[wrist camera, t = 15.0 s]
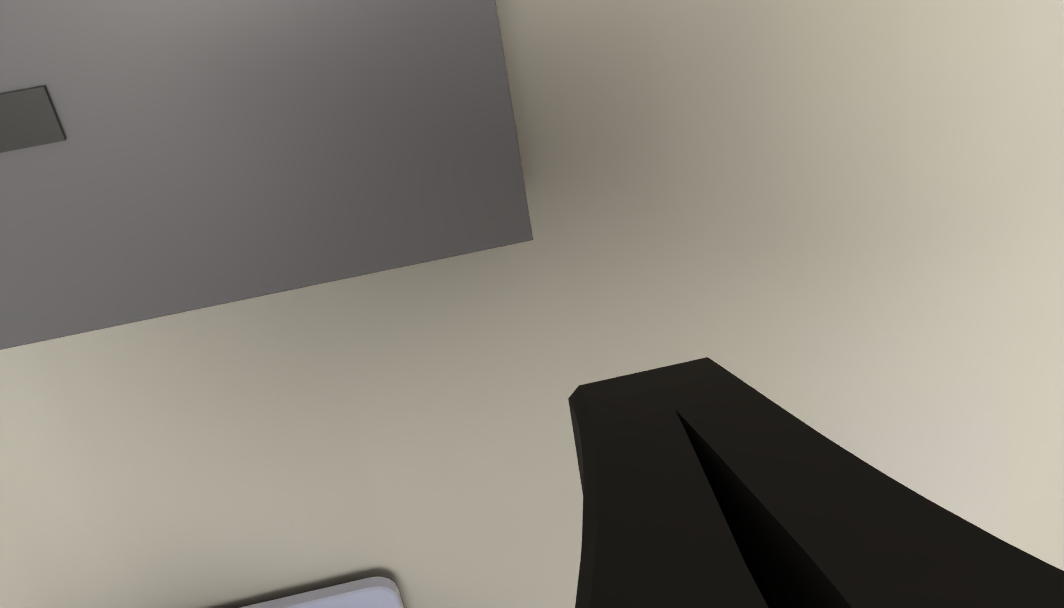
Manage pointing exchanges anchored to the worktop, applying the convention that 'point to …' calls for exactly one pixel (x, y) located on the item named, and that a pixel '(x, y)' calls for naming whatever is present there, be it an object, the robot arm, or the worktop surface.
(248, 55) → the console
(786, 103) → the worktop surface
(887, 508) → the robot arm
